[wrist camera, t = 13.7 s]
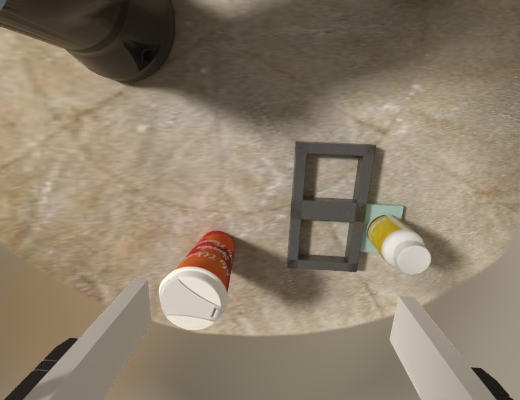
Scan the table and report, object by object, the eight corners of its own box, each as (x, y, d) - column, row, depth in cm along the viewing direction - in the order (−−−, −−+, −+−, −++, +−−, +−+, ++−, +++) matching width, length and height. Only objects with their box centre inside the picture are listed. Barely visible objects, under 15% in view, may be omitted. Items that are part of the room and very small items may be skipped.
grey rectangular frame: (295, 141, 39) (296, 142, 38) (370, 144, 39) (375, 145, 37) (287, 261, 45) (287, 267, 43) (352, 265, 45) (356, 271, 43)
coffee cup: (248, 234, 44) (235, 288, 30) (232, 274, 46) (212, 343, 32) (201, 216, 44) (164, 262, 29) (186, 258, 46) (146, 319, 32)
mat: (365, 203, 41) (367, 204, 41) (401, 204, 41) (403, 206, 40) (358, 249, 44) (359, 251, 43) (392, 251, 43) (394, 253, 43)
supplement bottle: (361, 242, 42) (386, 276, 33) (369, 211, 41) (397, 237, 32) (395, 247, 42) (430, 282, 33) (404, 215, 41) (443, 242, 31)
